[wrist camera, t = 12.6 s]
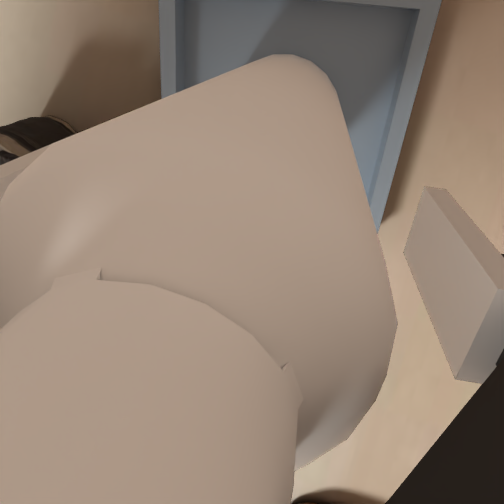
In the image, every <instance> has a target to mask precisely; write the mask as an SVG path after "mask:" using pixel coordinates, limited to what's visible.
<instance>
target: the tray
mask: <svg viewBox="0 0 504 504" xmlns="http://www.w3.org/2000/svg"><path fill="white" fill-rule="evenodd" d="M441 2H442V0H159V31H160V66H161V99H163V98H165V97H168V96H170V95H172V94H175V93H177V92H180V91H182V90H185V89H187V88H190V87H192V86H195V85H197V84H199V83H202V82H204V81H207V80H209V79H212V78H214V77H217V76H219V75H222V74H224V73H226V72H229V71H231V70H234V69H236V68H239V67H241V66H244V65H246V64H248V63H251V62H253V61H256V60H259V59H262V58H264V57H267V56H270V55H273V54H293V55H296V56H299V57H301V58H304V59H307V60H309V61H312V62H313V63H314V64H315V65H316V66H318V67H319V68H320V69H321V70H322V71H323V72H325V73H326V74H327V76H328V78H329V79H330V81H331V83H332V84H333V86H334V88H335V90H336V92H337V95H338V99H339V102H340V105H341V109H342V112H343V116H344V119H345V123H346V126H347V130H348V133H349V137H350V140H351V144H352V147H353V151H354V154H355V158H356V161H357V165H358V168H359V172H360V175H361V179H362V182H363V186H364V189H365V193H366V196H367V200H368V203H369V207H370V210H371V213H372V217H373V220H374V224H375V227H376V231H377V234H378V231H379V227H380V223H381V220H382V216H383V213H384V209H385V205H386V202H387V198H388V194H389V191H390V187H391V183H392V180H393V176H394V173H395V169H396V165H397V162H398V158H399V154H400V151H401V147H402V143H403V140H404V136H405V133H406V129H407V125H408V122H409V118H410V114H411V111H412V107H413V103H414V100H415V96H416V93H417V89H418V85H419V82H420V78H421V74H422V71H423V67H424V63H425V60H426V56H427V53H428V49H429V45H430V42H431V38H432V34H433V31H434V27H435V24H436V20H437V16H438V13H439V9H440V5H441Z"/></svg>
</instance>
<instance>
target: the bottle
mask: <svg viewBox="0 0 504 504" xmlns="http://www.w3.org/2000/svg"><path fill="white" fill-rule="evenodd" d="M397 325H398V322H397V317H396V312H395V307H394V302H393V297H392V292H391V287H390V282H389V277H388V272H387V267H386V262H385V259H384V255H383V252H382V248H381V245H380V241H379V238H378V234H377V231H376V227H375V224H374V220H373V217H372V213H371V210H370V207H369V203H368V200H367V196H366V193H365V189H364V186H363V182H362V179H361V175H360V172H359V168H358V165H357V161H356V158H355V154H354V151H353V147H352V144H351V140H350V137H349V133H348V130H347V126H346V123H345V119H344V116H343V112H342V109H341V105H340V102H339V99H338V95H337V92H336V90H335V88H334V86H333V84H332V83H331V81H330V79H329V78H328V76H327V74H326V73H325V72H323V71H322V70H321V69H320V68H319V67H318V66H316V65H315V64H314V63H313V62H312V61H309V60H307V59H304V58H301V57H299V56H296V55H293V54H273V55H270V56H267V57H264V58H262V59H259V60H256V61H253V62H251V63H248V64H246V65H244V66H241V67H239V68H236V69H234V70H231V71H229V72H226V73H224V74H222V75H219V76H217V77H214V78H212V79H209V80H207V81H204V82H202V83H199V84H197V85H195V86H192V87H190V88H187V89H185V90H182V91H180V92H177V93H175V94H172V95H170V96H168V97H165V98H163V99H160V100H158V101H155V102H153V103H150V104H148V105H146V106H143V107H141V108H138V109H136V110H133V111H131V112H128V113H126V114H123V115H121V116H119V117H116V118H114V119H111V120H109V121H106V122H104V123H101V124H99V125H97V126H94V127H92V128H89V129H87V130H84V131H82V132H79V133H77V134H74V135H72V136H70V137H67V138H65V139H62V140H60V141H57V142H55V143H52V144H51V145H50V146H49V147H48V148H47V149H46V150H45V151H44V152H43V153H42V154H41V155H40V156H39V157H38V158H37V159H35V160H34V161H33V162H32V163H31V164H30V165H29V166H28V167H27V168H26V169H25V170H24V171H23V172H22V173H21V174H20V175H18V176H17V177H16V178H15V179H14V180H13V181H12V182H11V183H10V184H9V185H8V187H7V189H6V191H5V193H4V195H3V197H2V199H1V201H0V504H291V498H292V492H293V486H294V472H295V471H297V470H299V469H300V468H302V467H304V466H306V465H308V464H310V463H311V462H313V461H314V460H316V459H317V458H319V457H320V456H322V455H323V454H325V453H327V452H328V451H330V450H331V449H333V448H334V447H336V446H337V445H339V444H340V443H342V442H344V441H345V440H347V439H348V438H349V436H350V435H351V433H352V432H353V431H354V429H355V428H356V427H357V425H358V424H359V423H360V421H361V420H362V418H363V417H364V416H365V414H366V413H367V412H368V410H369V409H370V407H371V406H372V405H373V403H374V402H375V401H376V398H377V396H378V394H379V391H380V389H381V387H382V384H383V382H384V380H385V378H386V375H387V370H388V366H389V361H390V357H391V352H392V348H393V343H394V339H395V334H396V329H397Z"/></svg>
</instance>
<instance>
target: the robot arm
mask: <svg viewBox="0 0 504 504" xmlns="http://www.w3.org/2000/svg"><path fill="white" fill-rule="evenodd" d="M50 145H51V144H50ZM50 145H48V146H45V147H43V148H40V149H38V150H36V151H33V152H31V153H28V154H26V155H24V156H21V157H19V158H17V159H14V160H12V161H9V162H7V163H5V164H2V165H0V201H1V199H2V197H3V195H4V193H5V191H6V189H7V187H8V185H9V184H10V183H11V182H12V181H13V180H14V179H15V178H16V177H17V176H18V175H20V174H21V173H22V172H23V171H24V170H25V169H26V168H27V167H28V166H29V165H30V164H31V163H32V162H33V161H34V160H35V159H37V158H38V157H39V156H40V155H41V154H42V153H43V152H44V151H45V150H46V149H47V148H48V147H49V146H50ZM403 253H404V255H405V258H406V260H407V263H408V265H409V267H410V270H411V272H412V275H413V277H414V280H415V282H416V285H417V287H418V290H419V292H420V294H421V297H422V299H423V302H424V304H425V307H426V309H427V312H428V314H429V317H430V319H431V322H432V324H433V326H434V329H435V331H436V334H437V336H438V339H439V341H440V344H441V346H442V349H443V351H444V353H445V356H446V358H447V361H448V363H449V366H450V368H451V371H452V373H453V376H454V378H455V379H456V380H463V381H469V382H475V383H481V384H482V385H481V386H480V388H479V389H478V390H477V391H476V393H475V394H474V395H473V396H472V398H471V399H470V400H469V401H468V403H467V404H466V405H465V406H464V407H463V409H462V410H461V411H460V412H459V414H458V415H457V416H456V417H455V419H454V420H453V421H452V422H451V424H450V425H449V426H448V427H447V428H446V430H445V431H444V432H443V433H442V435H441V436H440V437H439V438H438V440H437V441H436V442H435V443H434V445H433V446H432V447H431V448H430V449H429V451H428V452H427V453H426V454H425V456H424V457H423V458H422V459H421V461H420V462H419V463H418V464H417V466H416V467H415V468H414V469H413V470H412V472H411V473H410V474H409V475H408V477H407V478H406V479H405V480H404V482H403V483H402V484H401V485H400V487H399V488H398V489H397V490H396V491H395V493H394V494H393V495H392V496H391V498H390V499H389V500H388V501H387V502H386V503H385V504H504V254H500V252H499V251H498V250H497V249H496V248H495V247H494V245H493V244H492V243H491V242H490V241H489V239H488V238H487V237H486V236H485V235H484V234H483V232H482V231H481V230H480V229H479V228H478V226H477V225H476V224H475V223H474V222H473V221H472V219H471V218H470V217H469V216H468V215H467V213H466V212H465V211H464V210H463V209H462V208H461V206H460V205H459V204H458V203H457V202H456V200H455V199H454V198H453V197H452V196H451V195H450V193H449V192H448V191H447V190H446V189H440V188H432V187H425V186H424V189H423V192H422V195H421V198H420V202H419V205H418V208H417V211H416V214H415V217H414V221H413V224H412V227H411V230H410V233H409V236H408V240H407V243H406V246H405V249H404V252H403ZM496 366H497V367H496Z"/></svg>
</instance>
